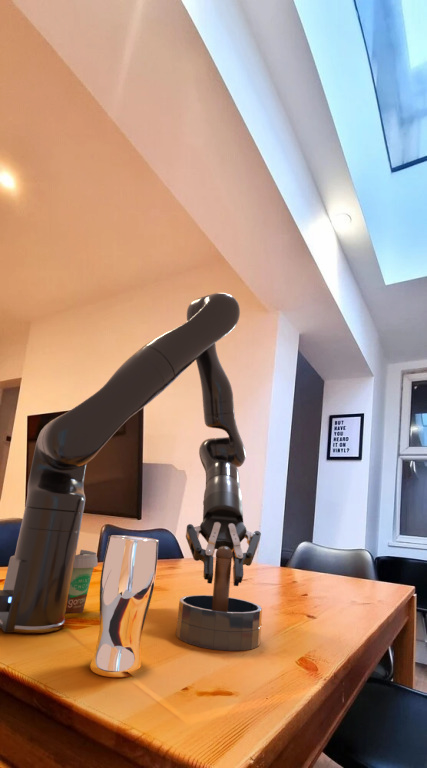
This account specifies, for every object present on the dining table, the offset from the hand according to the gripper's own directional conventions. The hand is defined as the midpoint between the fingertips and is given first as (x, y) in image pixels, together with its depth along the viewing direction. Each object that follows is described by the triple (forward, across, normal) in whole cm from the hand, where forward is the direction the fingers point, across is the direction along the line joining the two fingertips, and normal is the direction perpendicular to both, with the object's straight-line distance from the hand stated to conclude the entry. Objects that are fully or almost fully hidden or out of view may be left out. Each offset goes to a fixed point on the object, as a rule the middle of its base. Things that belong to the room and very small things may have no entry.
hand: (223, 581), depth 67 cm
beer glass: (+16, -14, -3) cm, 21 cm away
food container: (-2, -26, +15) cm, 30 cm away
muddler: (+5, 0, +7) cm, 9 cm away
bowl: (+5, 0, +8) cm, 9 cm away
